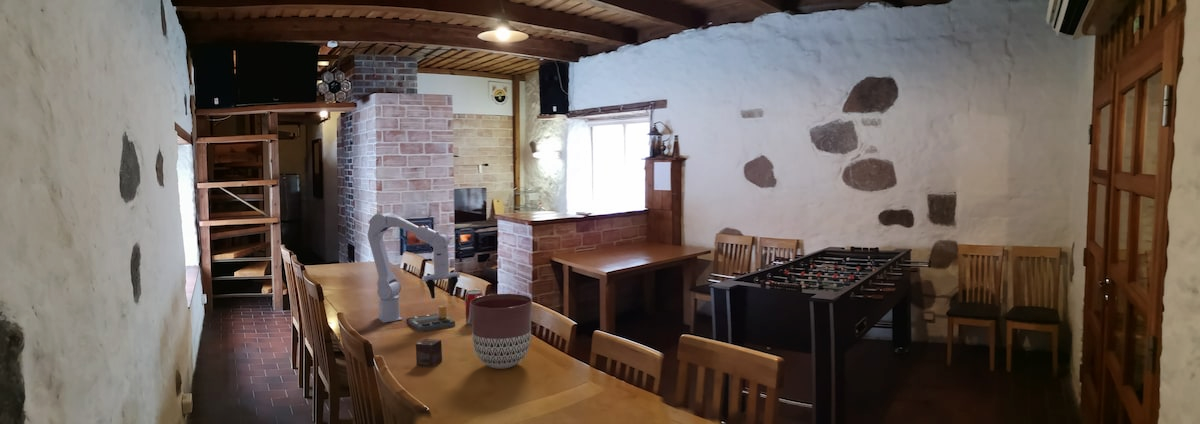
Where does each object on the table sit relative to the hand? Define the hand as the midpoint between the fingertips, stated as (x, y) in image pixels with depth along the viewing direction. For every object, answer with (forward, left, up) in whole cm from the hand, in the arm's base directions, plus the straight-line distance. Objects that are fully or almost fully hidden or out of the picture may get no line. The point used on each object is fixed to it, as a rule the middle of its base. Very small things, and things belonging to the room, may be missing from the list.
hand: (442, 296), depth 256 cm
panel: (+4, -6, -10) cm, 12 cm away
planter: (+64, -4, -10) cm, 65 cm away
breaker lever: (+4, -2, -7) cm, 9 cm away
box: (+48, -22, -10) cm, 54 cm away
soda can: (+12, +9, -10) cm, 18 cm away
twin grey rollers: (-6, -6, -10) cm, 13 cm away
